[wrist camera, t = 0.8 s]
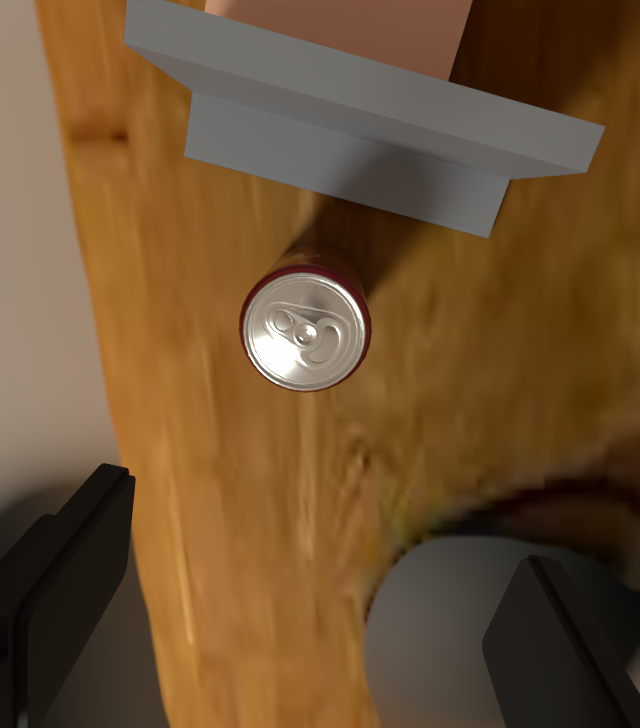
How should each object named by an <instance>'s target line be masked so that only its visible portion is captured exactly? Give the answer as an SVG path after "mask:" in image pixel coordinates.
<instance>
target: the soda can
mask: <svg viewBox="0 0 640 728" xmlns="http://www.w3.org/2000/svg"><path fill="white" fill-rule="evenodd" d="M239 334H240V341H241V344H242V347H243V350H244V353H245V355H246V356H247V358H248V360H249V361H250V363H251V365H252V366H253V367H254V368H255V369H256V370H257V372H258V373H259V374H260V375H262V376H263V377H264V378H265V379H267V380H268V381H269V382H271V383H273V384H275V385H277V386H279V387H281V388H284V389H287V390H290V391H296V392H304V393H306V392H318V391H322V390H326V389H329V388H332V387H334V386H336V385H338V384H340V383H342V382H343V381H345V380H346V379H347V378H349V377H350V376H351V375H352V374H353V373H354V372H355V371H356V370H357V369H358V368H359V366H360V365H361V363H362V362H363V360H364V358H365V357H366V354H367V351H368V349H369V346H370V341H371V334H372V328H371V318H370V314H369V310H368V306H367V302H366V298H365V294H364V290H363V286H362V282H361V278H360V274H359V272H358V270H357V268H356V266H355V265H354V264H353V262H352V261H351V260H350V259H349V258H348V257H347V256H346V255H345V254H344V253H343V252H341V251H339V250H337V249H336V248H334V247H331V246H328V245H324V244H305V245H302V246H298V247H296V248H294V249H292V250H290V251H288V252H287V253H286V254H284V255H283V256H282V257H281V258H280V259H279V260H278V261H277V262H276V263H275V264H274V265H273V266H272V267H271V268H270V270H269V271H268V272H267V273H266V274H265V275H264V276H263V277H262V278H261V279H260V280H259V281H258V282H257V283H256V285H255V286H254V287H253V288H252V290H251V291H250V292H249V293H248V295H247V297H246V299H245V301H244V303H243V306H242V309H241V313H240V317H239Z"/></svg>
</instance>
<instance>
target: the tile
mask: <svg viewBox="0 0 640 728" xmlns="http://www.w3.org/2000/svg"><path fill="white" fill-rule="evenodd" d="M472 1H473V0H206V5H205V12H207V13H210V14H213V15H217V16H220V17H224V18H227V19H231V20H234V21H238V22H241V23H245V24H248V25H252V26H255V27H259V28H262V29H266V30H269V31H273V32H276V33H280V34H283V35H287V36H290V37H294V38H297V39H301V40H304V41H308V42H311V43H315V44H318V45H322V46H325V47H329V48H332V49H336V50H339V51H343V52H346V53H350V54H353V55H357V56H360V57H364V58H367V59H371V60H374V61H378V62H381V63H385V64H388V65H392V66H395V67H399V68H402V69H406V70H409V71H413V72H416V73H420V74H423V75H427V76H430V77H434V78H437V79H441V80H444V81H448V80H449V76H450V73H451V70H452V66H453V63H454V60H455V57H456V53H457V50H458V47H459V43H460V40H461V37H462V34H463V30H464V27H465V24H466V21H467V17H468V14H469V11H470V7H471V4H472Z"/></svg>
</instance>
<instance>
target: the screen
mask: <svg viewBox="0 0 640 728" xmlns="http://www.w3.org/2000/svg"><path fill="white" fill-rule="evenodd" d="M124 44H126V45H127V46H128V47H130V48H131V49H133V50H134V51H136V52H137V53H138V54H140V55H141V56H143V57H144V58H145V59H147V60H148V61H150V62H151V63H153V64H154V65H155V66H157V67H158V68H160V69H161V70H163V71H164V72H165V73H167V74H168V75H170V76H171V77H173V78H174V79H175V80H177V81H178V82H180V83H181V84H183V85H184V86H185V87H187V88H188V89H190V90H191V91H193V94H192V102H191V109H190V116H189V124H188V131H187V139H186V146H185V154H184V156H185V157H189V158H193V159H196V160H200V161H204V162H207V163H211V164H215V165H218V166H222V167H226V168H230V169H233V170H237V171H241V172H244V173H248V174H252V175H256V176H259V177H263V178H267V179H270V180H274V181H278V182H281V183H285V184H289V185H293V186H296V187H300V188H304V189H307V190H311V191H315V192H318V193H322V194H326V195H330V196H333V197H337V198H341V199H344V200H348V201H352V202H356V203H359V204H363V205H367V206H370V207H374V208H378V209H381V210H385V211H389V212H393V213H396V214H400V215H404V216H407V217H411V218H415V219H418V220H422V221H426V222H430V223H433V224H437V225H441V226H444V227H448V228H452V229H456V230H459V231H463V232H467V233H470V234H474V235H478V236H481V237H485V238H488V237H489V235H490V232H491V229H492V226H493V224H494V221H495V218H496V216H497V213H498V210H499V208H500V205H501V202H502V199H503V197H504V194H505V191H506V189H507V186H508V183H509V181H510V179H521V178H533V177H544V176H555V175H566V174H577V173H586V172H587V169H588V167H589V164H590V162H591V160H592V157H593V155H594V153H595V150H596V148H597V146H598V143H599V141H600V139H601V136H602V134H603V131H604V129H605V126H602V125H598V124H595V123H591V122H588V121H584V120H581V119H577V118H574V117H570V116H567V115H563V114H560V113H556V112H553V111H549V110H546V109H542V108H539V107H535V106H532V105H528V104H525V103H521V102H518V101H514V100H511V99H507V98H504V97H500V96H497V95H493V94H490V93H486V92H483V91H479V90H476V89H472V88H469V87H465V86H462V85H458V84H455V83H451V82H448V81H444V80H441V79H437V78H434V77H430V76H427V75H423V74H420V73H416V72H413V71H409V70H406V69H402V68H399V67H395V66H392V65H388V64H385V63H381V62H378V61H374V60H371V59H367V58H364V57H360V56H357V55H353V54H350V53H346V52H343V51H339V50H336V49H332V48H329V47H325V46H322V45H318V44H315V43H311V42H308V41H304V40H301V39H297V38H294V37H290V36H287V35H283V34H280V33H276V32H273V31H269V30H266V29H262V28H259V27H255V26H252V25H248V24H245V23H241V22H238V21H234V20H231V19H227V18H224V17H220V16H217V15H213V14H210V13H207V12H203V11H200V10H196V9H193V8H189V7H186V6H182V5H179V4H175V3H172V2H168V1H165V0H127V9H126V20H125V32H124Z"/></svg>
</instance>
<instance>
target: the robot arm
mask: <svg viewBox="0 0 640 728" xmlns="http://www.w3.org/2000/svg"><path fill="white" fill-rule="evenodd" d="M135 481H136V479H135V476H131V475H129V470H128V468H125V467H120V466H115V465H111V464H105V463H103V464H101V465H100V466H99V467H98V468H97V469H96V470H95V471H94V472H93V474H92V475H91V476H90V477H89V478H88V479H87V480H86V481H85V483H84V484H83V485H82V486H81V487H80V489H78V490H77V492H76V493H75V494H74V495H73V496H72V497H71V498H70V499H69V501H68V502H67V503H66V504H65V505H64V506H63V507H62V508H61V510H60V511H59V512H58V513H57V514H56V515H51V514H45V515H43V516H41V517H40V518H39V519H38V520H37V521H36V522H35V523H34V524H33V525H32V526H31V527H30V528H29V530H27V531H26V533H25V534H24V535H23V536H22V537H21V538H20V539H19V540H18V541H17V542H16V543H15V544H14V545H13V546H12V548H11V549H10V550H9V551H8V552H7V553H6V554H5V555H4V556H3V557H2V558H1V559H0V728H39V726H40V725H41V723H42V721H43V719H44V718H45V716H46V714H47V712H48V710H49V708H50V707H51V705H52V703H53V702H54V700H55V698H56V696H57V695H58V693H59V691H60V689H61V687H62V686H63V684H64V682H65V680H66V679H67V677H68V675H69V673H70V672H71V670H72V668H73V666H74V664H75V663H76V661H77V659H78V657H79V656H80V654H81V652H82V650H83V648H84V647H85V645H86V643H87V641H88V640H89V638H90V636H91V634H92V633H93V631H94V629H95V627H96V625H97V624H98V622H99V620H100V618H101V617H102V615H103V613H104V611H105V610H106V608H107V606H108V604H109V602H110V600H111V599H112V597H113V595H114V594H115V592H116V590H117V588H118V587H119V585H120V583H121V581H122V579H123V577H124V574H125V571H126V568H127V561H128V551H129V541H130V531H131V522H132V512H133V502H134V492H135ZM482 649H483V655H484V659H485V662H486V665H487V668H488V671H489V674H490V678H491V681H492V684H493V687H494V690H495V693H496V697H497V700H498V703H499V706H500V709H501V713H502V716H503V719H504V722H505V725H506V728H640V693H639V692H638V690H637V689H636V687H635V685H634V684H633V682H632V680H631V679H630V677H629V675H628V674H627V672H626V670H625V669H624V667H623V666H622V664H621V662H620V661H619V659H618V657H617V656H616V654H615V652H614V651H613V649H612V647H611V646H610V644H609V643H608V641H607V639H606V637H605V636H604V634H603V632H602V631H601V629H600V628H599V626H598V624H597V623H596V621H595V620H594V618H593V616H592V614H591V613H590V611H589V609H588V608H587V606H586V604H585V603H584V601H583V600H582V598H581V596H580V595H579V593H578V591H577V590H576V588H575V586H574V585H573V583H572V581H571V580H570V578H569V576H568V575H567V573H566V571H565V570H564V568H563V567H562V565H561V563H560V562H559V561H558V560H556V559H552V558H548V557H543V556H539V555H530V556H528V558H527V559H522V560H521V561H520V563H519V565H518V567H517V569H516V571H515V573H514V575H513V577H512V579H511V581H510V583H509V585H508V587H507V590H506V592H505V594H504V596H503V598H502V600H501V602H500V604H499V606H498V608H497V610H496V612H495V615H494V617H493V619H492V621H491V623H490V625H489V627H488V629H487V631H486V633H485V635H484V638H483V642H482Z"/></svg>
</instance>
